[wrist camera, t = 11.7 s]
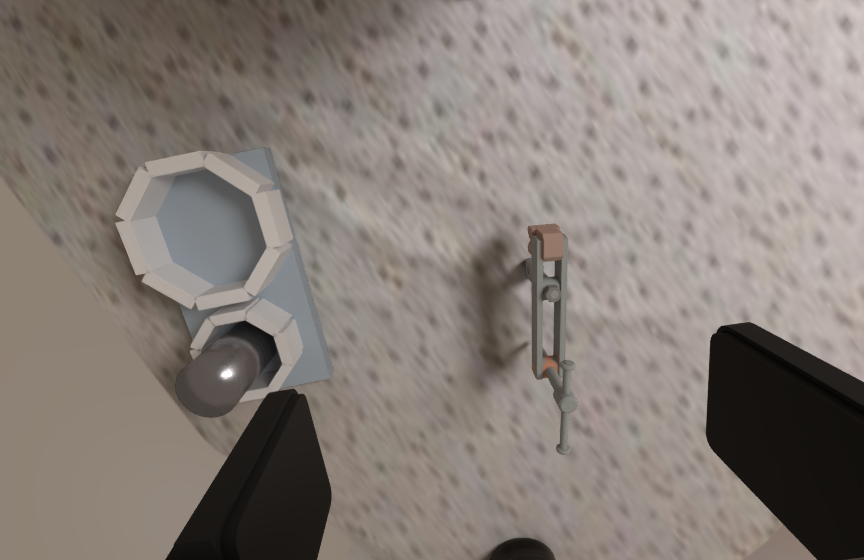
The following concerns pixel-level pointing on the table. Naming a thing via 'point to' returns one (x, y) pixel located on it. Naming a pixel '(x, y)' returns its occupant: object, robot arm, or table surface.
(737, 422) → the robot arm
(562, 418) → the clamp
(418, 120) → the table surface
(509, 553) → the supplement bottle
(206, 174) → the fitting plate
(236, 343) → the grey cylinder
